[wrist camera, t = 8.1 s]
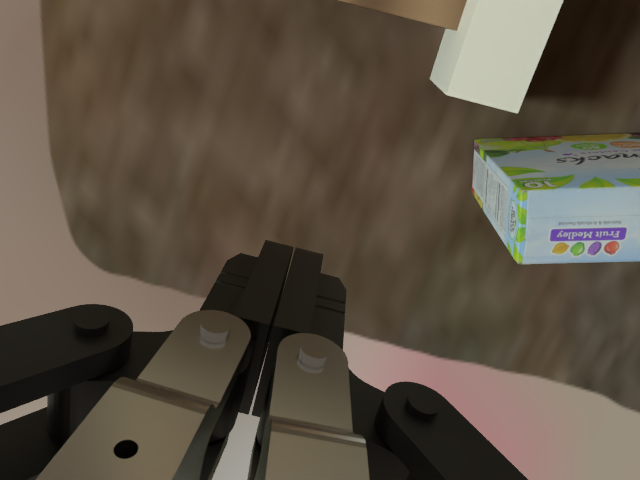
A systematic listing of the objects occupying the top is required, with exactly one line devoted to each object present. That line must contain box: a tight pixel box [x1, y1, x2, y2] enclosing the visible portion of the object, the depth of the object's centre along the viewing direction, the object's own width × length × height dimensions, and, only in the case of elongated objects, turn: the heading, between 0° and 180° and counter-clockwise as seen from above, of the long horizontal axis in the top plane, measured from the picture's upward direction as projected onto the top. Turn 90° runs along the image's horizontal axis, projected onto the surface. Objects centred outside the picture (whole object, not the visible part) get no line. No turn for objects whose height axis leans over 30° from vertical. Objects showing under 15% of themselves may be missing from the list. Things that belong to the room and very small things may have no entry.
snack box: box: [472, 133, 640, 264], centre depth 37 cm, size 21×6×15 cm, turn 94°
